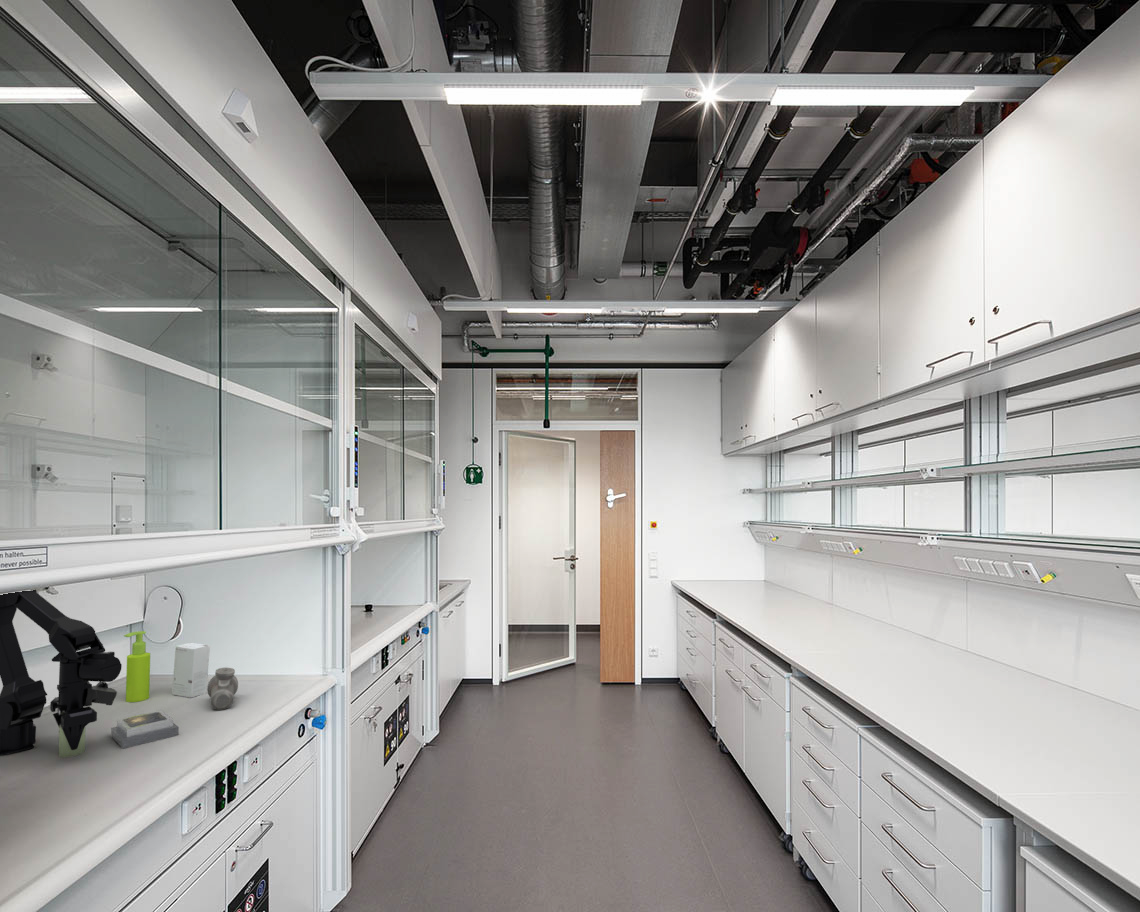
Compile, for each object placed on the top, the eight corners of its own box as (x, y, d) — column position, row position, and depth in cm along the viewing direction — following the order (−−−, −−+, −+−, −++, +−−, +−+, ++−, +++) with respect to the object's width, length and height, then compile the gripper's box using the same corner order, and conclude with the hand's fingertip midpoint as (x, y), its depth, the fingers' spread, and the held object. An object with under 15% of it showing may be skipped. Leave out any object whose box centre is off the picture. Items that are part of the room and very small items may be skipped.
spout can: (60, 759, 152) (61, 719, 153) (56, 753, 156) (57, 714, 156) (86, 752, 156) (88, 714, 156) (82, 747, 159) (83, 709, 160)
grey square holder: (122, 748, 158) (123, 731, 159) (110, 735, 167) (111, 719, 167) (178, 734, 167) (178, 719, 167) (164, 723, 175) (164, 708, 175)
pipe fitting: (206, 698, 194) (210, 664, 194) (236, 697, 198) (240, 664, 198) (203, 716, 183) (207, 680, 183) (235, 714, 187) (239, 678, 187)
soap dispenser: (117, 701, 194) (119, 633, 195) (142, 694, 200) (143, 628, 201) (129, 704, 191) (130, 635, 192) (153, 697, 197) (155, 630, 198)
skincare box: (171, 695, 199) (172, 646, 200) (189, 689, 205) (190, 641, 206) (192, 698, 196) (193, 648, 197) (209, 692, 202) (210, 643, 203)
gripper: (123, 680, 156) (121, 747, 155) (105, 666, 169) (103, 727, 168) (65, 691, 148) (63, 761, 147) (50, 675, 161) (48, 739, 160)
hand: (71, 746), depth 156 cm, fingers open, 5 cm apart
